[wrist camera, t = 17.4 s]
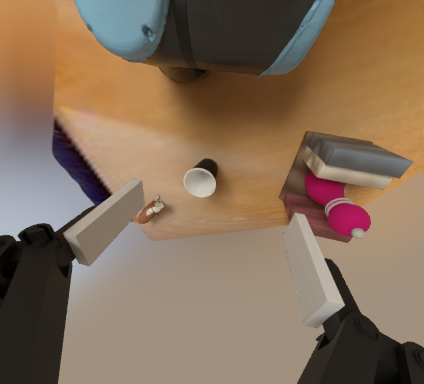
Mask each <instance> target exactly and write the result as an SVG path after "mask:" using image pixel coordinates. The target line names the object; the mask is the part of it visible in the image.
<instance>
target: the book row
mask: <svg viewBox="0 0 424 384" xmlns="http://www.w3.org/2000/svg"><path fill="white" fill-rule="evenodd" d="M412 163H413V161H410V160H408V159H406V158H404V157H401V156H399V155H397V154H395V153H392V152H390V151H388V150H385V149H383V148H381V147H379V146H376V145H374V144H373V142H370V141H364V140H358V139H352V138H346V137H340V136H334V135H328V134H322V133H316V132H310V131H306V133H305V136H304V138H303V141H302V143H301V145H300V148H299V150H298V152H297V155H296V157H295V160H294V162H293V164H292V167H291V169H290V172H289V174H288V176H287V179H286V181H285V184H284V186H283V188H282V191H281V193H280V196H279V199H281V200H283V202H284V205H285V208H286V211H287V215H288V218H289V221H291V219H292V217H293V215H294V213H299V214H304V215H305V216H306V219H307V221H308V223H309V225H310V228H311V230H312V232H313V234H314V235H315V236H319V237H324V238H328V239H333V240H338V241H342V242H347V243H348V242H349V241H350V240H351V239H352V237H347V236H342V235H340V234H338V233H336V232H335V231H334V230H332V228H331V227H330V226H329V223H328V217H327V215H326V214H325V207H324V206H323V205H322V204H319V203H317V202H315V201H313V200H312V199H311V198H310V197H309V196H308V194H307V190H306V189H307V188H306V186H305V183H304V180H305V178H306V176H307V175H308V174H309V173H310V172H313V173H314V174H315V176H316V177H318V178H323V179H328V180H334V181H339V182H342V184H343V187H345V185H346V184H347V183H349V184H355V185H360V186H365V187H371V188H376V189H381V190H384V189H385V188H386V186H387V185H388V184H389V183H390V182H391V180H392V179H393V178H394V177H396V178H400V177H401V176H402V175H403V174H404V172H405V171H406V170H407V169H408V168H409V166H410V165H411V164H412Z"/></svg>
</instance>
